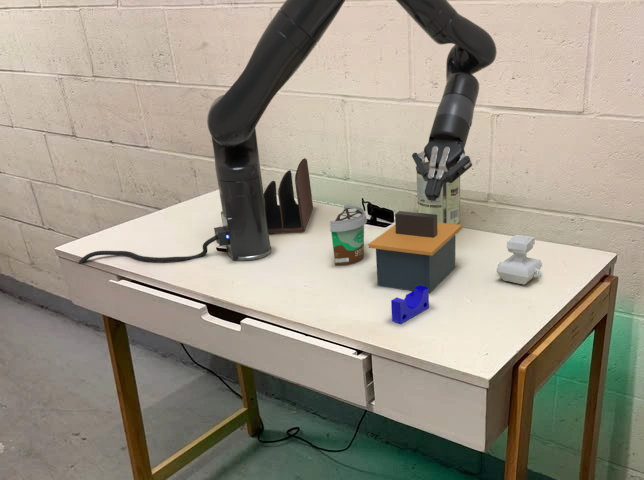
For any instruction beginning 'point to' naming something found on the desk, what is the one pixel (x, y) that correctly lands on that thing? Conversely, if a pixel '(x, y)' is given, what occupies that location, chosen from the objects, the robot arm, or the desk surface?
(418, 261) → the bin
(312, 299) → the desk surface
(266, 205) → the letter holder
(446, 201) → the coffee can
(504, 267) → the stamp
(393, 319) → the cable holder
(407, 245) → the lid
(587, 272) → the desk surface
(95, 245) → the desk surface
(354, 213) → the food container
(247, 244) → the robot arm
